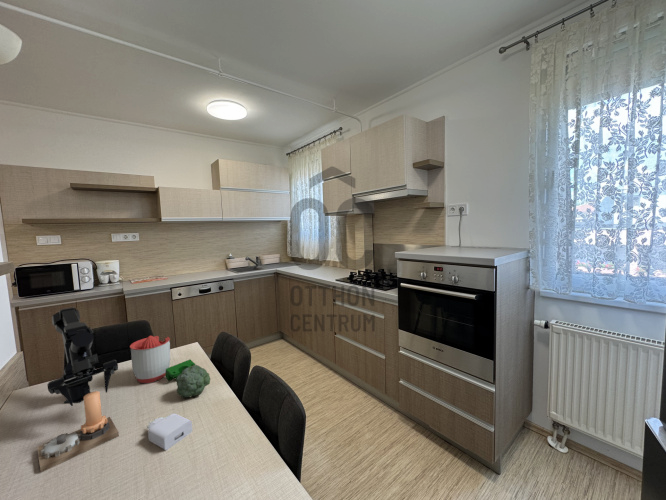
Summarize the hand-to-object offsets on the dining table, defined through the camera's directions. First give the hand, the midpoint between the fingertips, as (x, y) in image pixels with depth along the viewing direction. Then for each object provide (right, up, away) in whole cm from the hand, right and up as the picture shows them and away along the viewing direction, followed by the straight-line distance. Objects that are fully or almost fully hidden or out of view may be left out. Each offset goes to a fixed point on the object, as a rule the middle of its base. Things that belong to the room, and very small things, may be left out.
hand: (89, 398), depth 98 cm
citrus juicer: (+1, -8, +34) cm, 34 cm away
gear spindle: (+6, -8, -5) cm, 12 cm away
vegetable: (+27, -8, +20) cm, 34 cm away
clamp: (+15, -7, +32) cm, 36 cm away
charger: (+29, -10, -4) cm, 31 cm away
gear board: (+4, -10, -8) cm, 13 cm away
